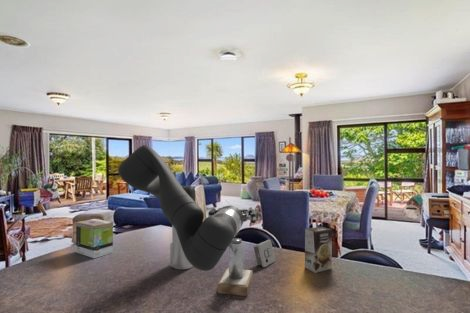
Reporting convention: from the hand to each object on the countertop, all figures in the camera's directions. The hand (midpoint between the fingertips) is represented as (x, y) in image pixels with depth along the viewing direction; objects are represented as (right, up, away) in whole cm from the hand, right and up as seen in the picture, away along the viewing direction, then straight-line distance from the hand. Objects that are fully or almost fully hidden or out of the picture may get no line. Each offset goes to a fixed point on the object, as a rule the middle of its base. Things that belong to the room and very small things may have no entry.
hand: (237, 210), depth 88 cm
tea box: (-67, -29, +42) cm, 84 cm away
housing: (0, -25, +9) cm, 27 cm away
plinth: (0, -28, +9) cm, 30 cm away
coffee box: (+33, -29, +24) cm, 50 cm away
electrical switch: (+12, -29, +29) cm, 43 cm away
